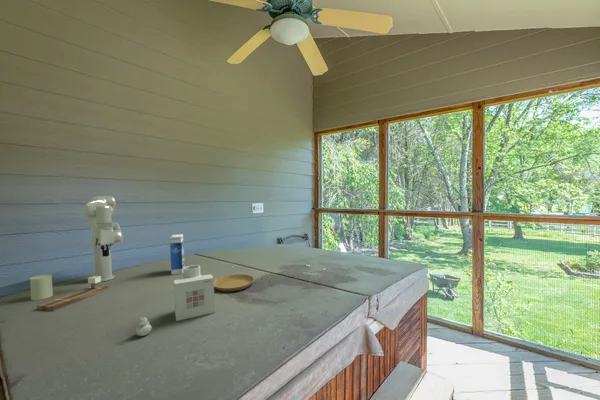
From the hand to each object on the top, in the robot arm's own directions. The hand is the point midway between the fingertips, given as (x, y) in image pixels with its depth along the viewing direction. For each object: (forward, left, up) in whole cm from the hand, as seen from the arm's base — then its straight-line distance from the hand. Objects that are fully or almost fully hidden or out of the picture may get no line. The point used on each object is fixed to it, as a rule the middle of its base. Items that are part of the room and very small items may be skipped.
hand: (105, 256), depth 167 cm
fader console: (0, -19, -19) cm, 27 cm away
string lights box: (+24, +34, -19) cm, 46 cm away
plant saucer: (+77, +12, -19) cm, 80 cm away
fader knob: (0, -8, -16) cm, 18 cm away
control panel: (+73, -22, -19) cm, 78 cm away
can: (-22, -20, -19) cm, 35 cm away
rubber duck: (+67, -46, -19) cm, 83 cm away
